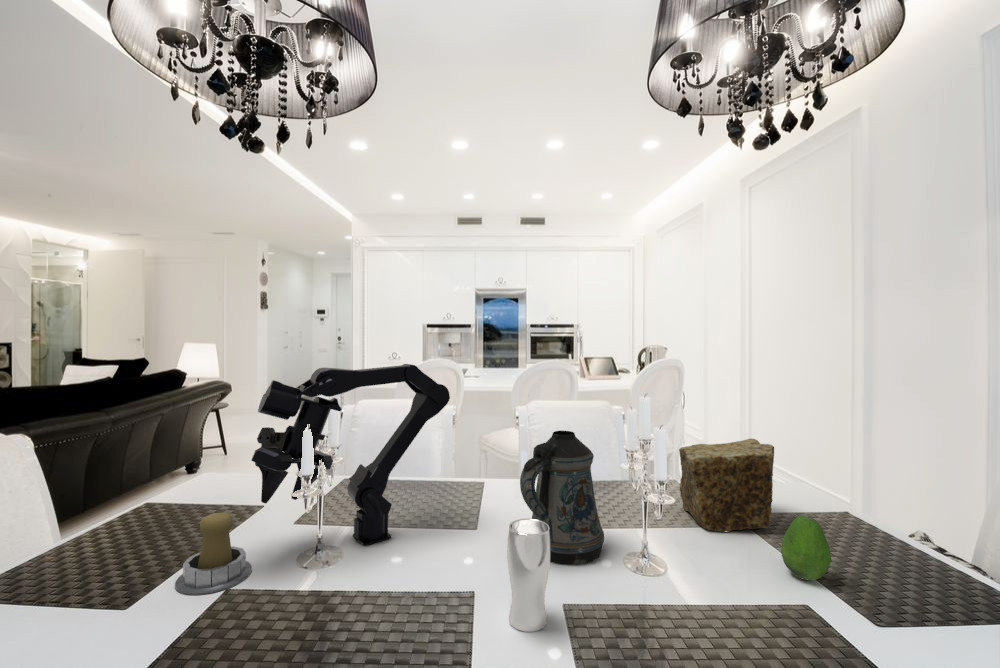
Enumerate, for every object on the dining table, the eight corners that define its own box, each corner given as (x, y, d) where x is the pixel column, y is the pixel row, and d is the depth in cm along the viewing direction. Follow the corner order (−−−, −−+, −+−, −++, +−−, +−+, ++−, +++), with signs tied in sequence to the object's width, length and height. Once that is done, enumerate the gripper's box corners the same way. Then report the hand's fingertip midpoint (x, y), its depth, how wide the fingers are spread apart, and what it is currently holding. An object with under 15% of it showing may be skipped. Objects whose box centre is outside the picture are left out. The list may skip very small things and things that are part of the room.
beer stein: (611, 540, 104) (612, 429, 104) (590, 580, 86) (592, 446, 86) (541, 526, 111) (543, 422, 111) (509, 561, 93) (511, 437, 93)
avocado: (818, 593, 83) (818, 526, 83) (773, 574, 90) (773, 512, 90) (838, 581, 87) (838, 518, 88) (794, 564, 94) (794, 505, 94)
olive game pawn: (188, 584, 82) (190, 521, 82) (205, 567, 88) (206, 509, 88) (225, 582, 83) (227, 520, 83) (239, 565, 89) (240, 508, 89)
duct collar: (243, 555, 94) (244, 538, 94) (258, 579, 85) (259, 560, 85) (171, 574, 86) (172, 555, 86) (179, 603, 77) (180, 582, 77)
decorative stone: (688, 447, 109) (672, 431, 129) (689, 533, 109) (672, 504, 129) (786, 450, 106) (754, 434, 125) (788, 539, 105) (755, 509, 125)
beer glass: (504, 608, 77) (505, 518, 77) (545, 607, 77) (546, 517, 78) (508, 635, 70) (510, 535, 70) (553, 633, 70) (555, 535, 71)
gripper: (304, 418, 107) (278, 485, 104) (246, 409, 89) (212, 489, 86) (345, 433, 104) (318, 502, 101) (292, 426, 86) (259, 510, 83)
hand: (279, 500), depth 93 cm, fingers open, 9 cm apart
